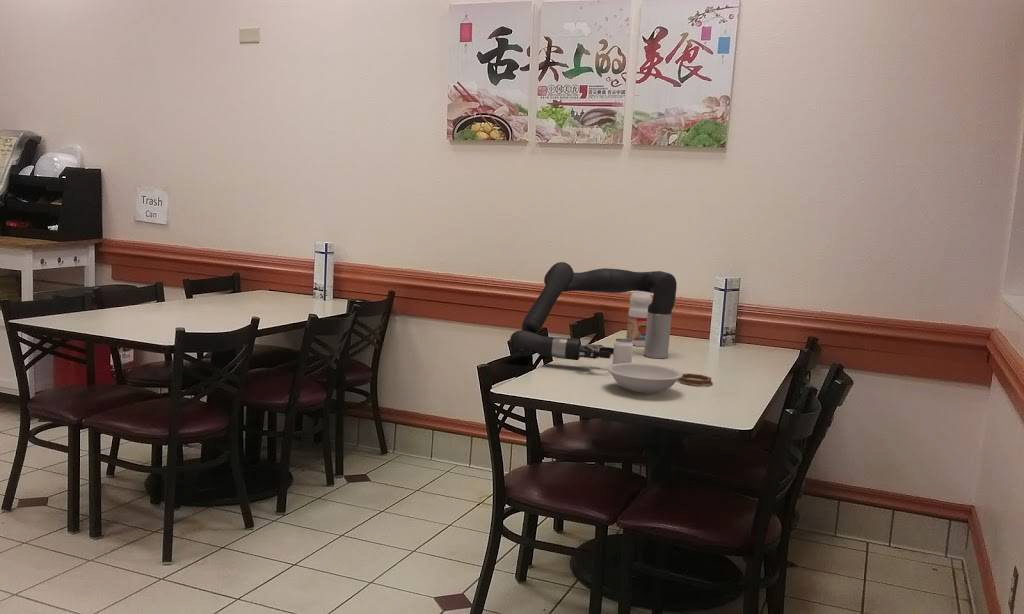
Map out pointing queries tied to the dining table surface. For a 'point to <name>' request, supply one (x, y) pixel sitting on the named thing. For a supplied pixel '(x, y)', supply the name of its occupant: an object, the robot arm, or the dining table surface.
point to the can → (622, 351)
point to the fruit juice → (638, 317)
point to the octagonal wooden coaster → (695, 380)
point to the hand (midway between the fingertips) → (612, 353)
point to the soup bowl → (644, 376)
